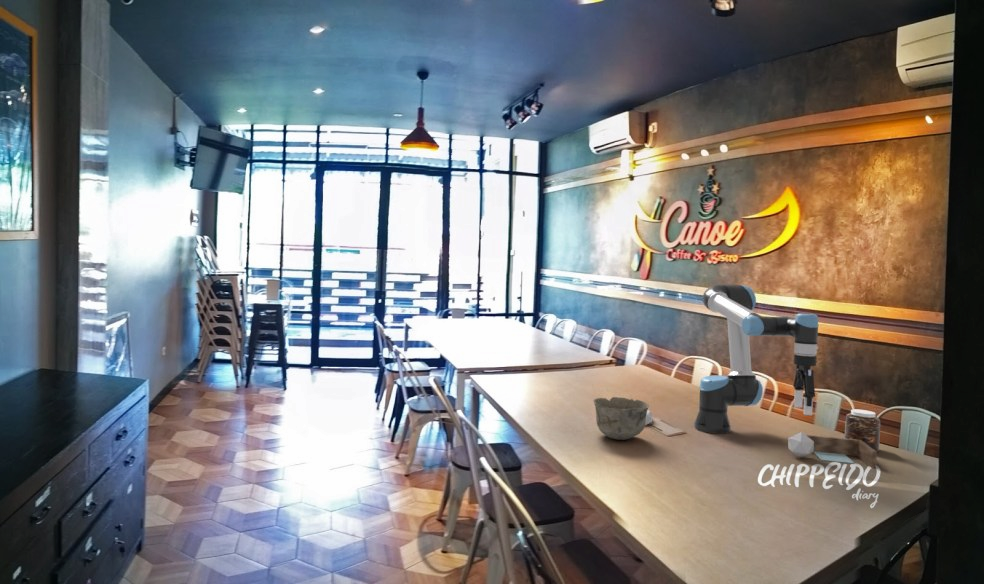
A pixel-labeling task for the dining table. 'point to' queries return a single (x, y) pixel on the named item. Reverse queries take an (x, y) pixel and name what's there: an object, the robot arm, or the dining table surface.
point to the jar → (863, 427)
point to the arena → (845, 448)
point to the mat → (833, 457)
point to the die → (800, 444)
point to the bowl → (620, 417)
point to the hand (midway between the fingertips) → (802, 410)
